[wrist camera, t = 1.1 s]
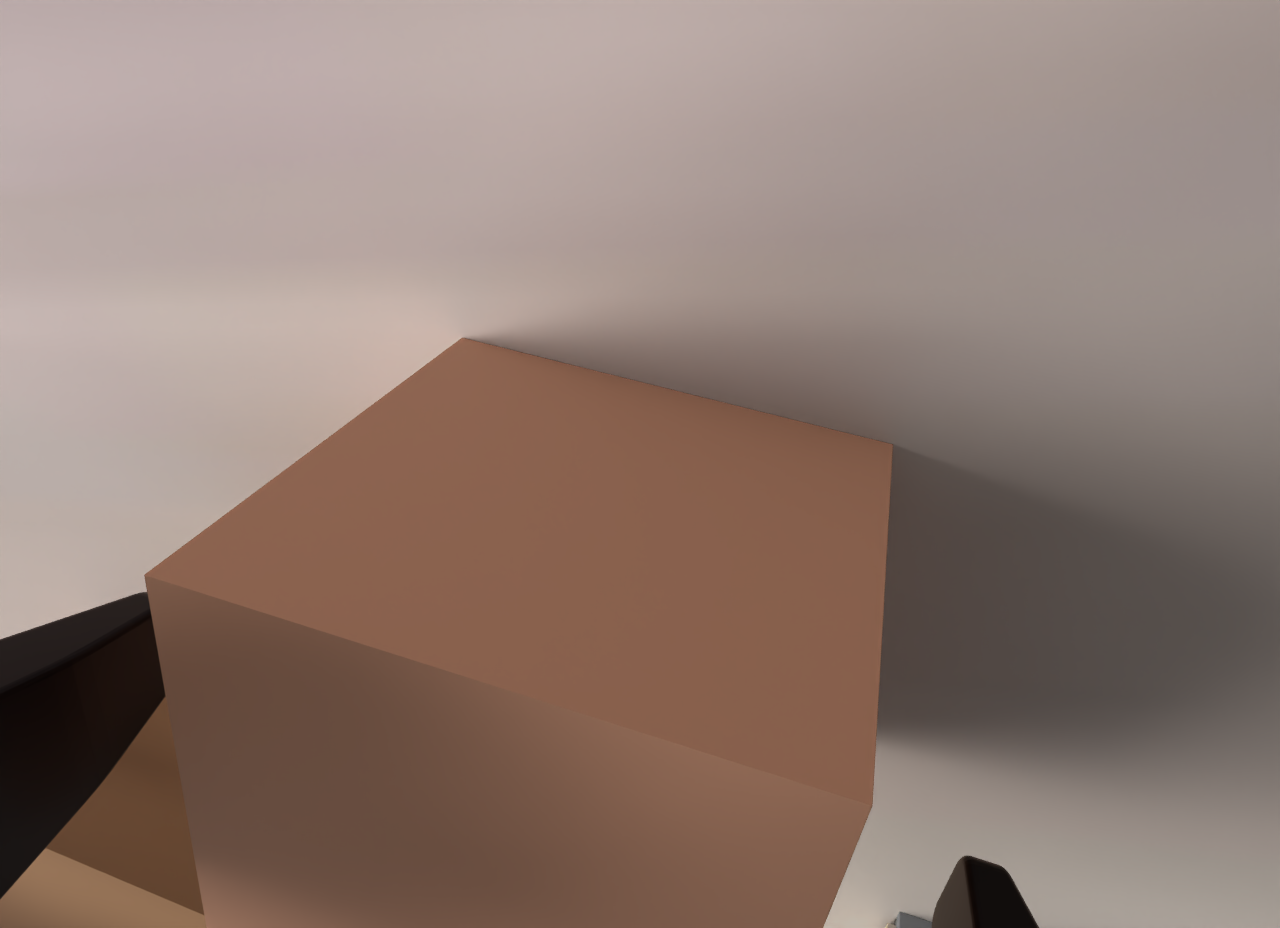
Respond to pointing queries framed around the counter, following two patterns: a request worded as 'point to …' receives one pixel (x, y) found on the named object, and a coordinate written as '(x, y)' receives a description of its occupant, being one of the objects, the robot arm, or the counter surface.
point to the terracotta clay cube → (533, 662)
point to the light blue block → (909, 922)
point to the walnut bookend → (118, 851)
